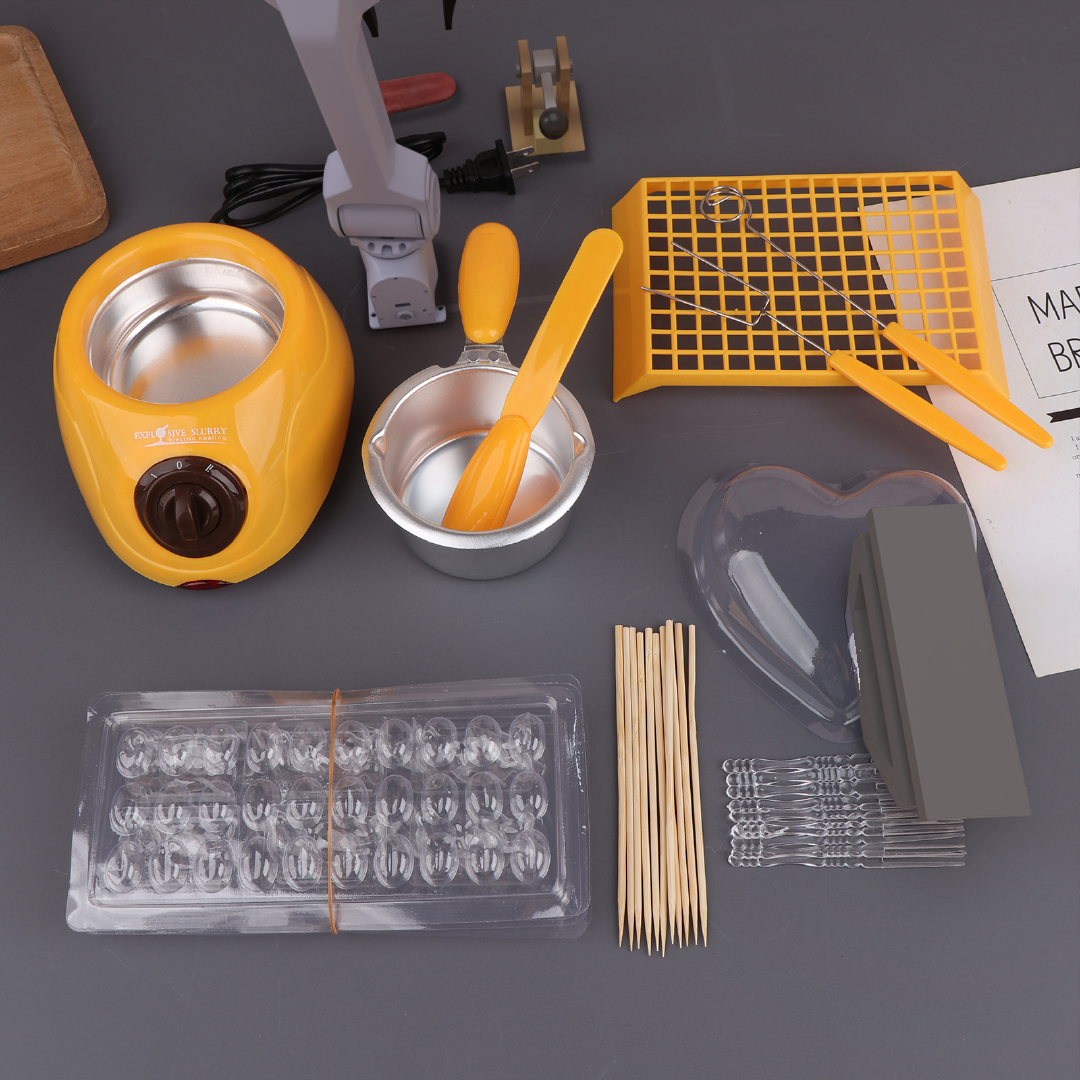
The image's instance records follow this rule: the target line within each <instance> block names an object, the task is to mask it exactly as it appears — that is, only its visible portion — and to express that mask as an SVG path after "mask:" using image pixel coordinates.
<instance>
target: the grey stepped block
mask: <svg viewBox="0 0 1080 1080" xmlns="http://www.w3.org/2000/svg"><path fill="white" fill-rule="evenodd" d="M865 517H866V518H865V519H866V523H867V524H866V525H867V529H868V532H861V533H859V535H858V536H857V537H855V538H854V540H853V541H852V549H851V556H850V563H849V571H848V572H849V573H848V580H847V591H846V593H847V592H848V597H849V605H850V612H851V618H852V627H853V633H854V640H855V646H856V654H857V663H858V668H859V678H860V690H859V683H858V677H857V675H855V677H856V679H855V678H854V677H853V681H854V682H853V683H854V688H855V695H856V700H857V707H858V713H859V719H860V725H861V732H862V739H863V744H864V746H865V748H866V749H867V752H868V753H869V755H870V757H871V759H872V761H873V763H874V766H875V767H876V769H877V771H878V773H879V775H880V777H881V778H882V780H883V782H884V784H885V786H886V788H887V790H888V792H889V794H890V796H891V797H892V800H893V801H894V803H895V805H896V807H897V808H911V807H915V808H916V811H917V816H918V817H917V818H918V822H926V821H945V820H966V819H968V820H969V819H985V818H986V819H987V818H1006V817H1007V818H1008V817H1027V816H1028V817H1029V816H1030V817H1031V816H1033V814H1032V809H1031V805H1030V800H1029V796H1028V795H1029V794H1028V790H1027V785H1026V781H1025V777H1024V771H1023V768H1022V767H1023V766H1022V762H1021V758H1020V752H1019V748H1018V744H1017V740H1016V734H1015V730H1014V725H1013V720H1012V715H1011V710H1010V705H1009V702H1008V701H1009V700H1008V696H1007V692H1006V686H1005V682H1004V678H1003V672H1002V668H1001V664H1000V659H999V653H998V650H997V645H996V640H995V635H994V630H993V626H992V622H991V621H992V620H991V617H990V612H989V608H988V602H987V598H986V593H985V589H984V584H983V579H982V574H981V569H980V565H979V561H978V555H977V550H976V546H975V541H974V537H973V531H972V528H971V527H972V526H971V523H970V518H969V513H968V508H967V503H966V502H962V503H959V502H958V503H941V504H939V503H938V504H921V505H920V504H919V505H917V504H916V505H897V506H896V505H895V506H878V507H877V506H876V507H871V508H870V509H869V510H868V511H867V512H866V513H865ZM860 650H861V651H860ZM854 674H855V672H854ZM860 691H861V696H860ZM861 700H862V702H861Z"/></svg>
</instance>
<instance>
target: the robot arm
mask: <svg viewBox="0 0 1080 1080" xmlns="http://www.w3.org/2000/svg"><path fill="white" fill-rule="evenodd" d="M263 1H264V2H266V4H268V5H270V6H272V8H274V9H276V10H277V11H278V12H279V13H280V15H281V17H282V20H283V22H284V25H285V27H286V31H287V32H288V34H289V37H290V40H291V42H292V45H293V47H294V49H295V52H296V54H297V57H298V59H299V61H300V64H301V66H302V69H303V72H304V74H305V76H306V78H307V81H308V83H309V86H310V88H311V90H312V93H313V96H314V99H315V100H316V103H317V105H318V107H319V110H320V113H321V115H322V117H323V119H324V122H325V125H326V127H327V129H328V131H329V135H330V137H331V139H332V142H333V144H334V146H335V150H334V151H332V152H331V153H329V154H328V155H327V158H326V162H325V165H324V170H323V180H322V196H323V199H324V203H325V205H326V213H327V217H328V222H329V225H330V228H331V229H332V230H333V231H334V232H335V234H336V235H337V236H338V237H339V238H346V237H348V240H349V242H350V245H351V246H354V247H358V250H359V252H360V255H361V256H360V257H361V258H362V259H361V260H362V262H363V266H364V268H365V271H366V282H367V303H368V321H369V322H368V323H369V327H370V328H371V329H372V330H382V329H391V328H402V327H411V326H412V327H413V326H420V325H431V324H441V323H444V322H446V320H447V310H446V304H438V305H436V300H435V299H436V297H435V292H436V287H437V285H438V284H437V283H438V280H439V270H438V265H437V259H436V256H435V250H434V245H433V239H434V238H435V236H436V235H437V234H438V233H439V230H440V224H441V188H440V182H439V181H440V180H439V176H438V175H437V173H436V172H435V171H434V170H433V169H432V166H431V164H430V163H429V159H428V158H427V156H425V155H423V154H421V153H419V152H417V151H414V150H412V149H411V148H408V147H406V146H403V145H401V144H399V143H397V141H396V138H395V135H394V131H393V127H392V125H391V122H390V117H389V115H388V114H387V111H386V108H385V104H384V101H383V98H382V94H381V91H380V88H379V84H378V82H379V81H378V77H377V75H376V70H375V68H374V64H373V61H372V58H371V54H370V51H369V47H368V44H367V41H366V37H365V34H364V31H363V27H362V20H363V22H364V23H365V25H366V26H367V28H368V30H369V33H370V35H371V37H372V38H379V36H380V34H379V23H378V17H377V11H376V8H375V6H376V5H377V3H379V2H380V1H381V0H263ZM457 1H458V0H442V12H443V21H444V30H445V31H452V30H453V18H454V12H455V8H456V3H457ZM440 309H441V310H440Z"/></svg>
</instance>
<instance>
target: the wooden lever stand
mask: <svg viewBox="0 0 1080 1080" xmlns="http://www.w3.org/2000/svg"><path fill="white" fill-rule="evenodd" d="M528 41H529V40H528V39H520V40H519V39H518V40H517V52H518V55H517V56H518V62H517V63H515V64H514V67H515V68H514V71H515V79H519V85H513V86H505V88H504V89H505V96H506V106H507V113H508V120H509V121H508V122H509V131H510V139H511V146H512V152H513V151H514V150H520V149H522V148H526V147H530V146H532V147H533V148H534V152H533V153H532V154H529V155H526V156H525V157H532V156H542V155H544V154H537V155H536V150H535V142H534V135H533V110H537V109H545V105H544V99H543V93H542V87H540V88H536V87H535V83H534V84H533V69H532V64H531V57H530V48H529V42H528ZM569 56H570V55H569V50H568V44H567V36H566V35H560V36H555V64H556V86H553V88H554V94H555V100H556V105H557V108H558V107H559V108H560V109H562V110H563V111H564V112H565V113H566V115H567V117H568V123H569V124H568V129H567V132H566V133H565V135H564V136H563V152H558V153H557V154H563V153H572V152H573V153H575V152H581V151H582V152H584V151H586V146H585V139H584V133H583V127H582V126H583V125H582V121H581V113H580V106H579V99H578V95H577V88H576V81H575V80H571V74H573V73H574V61H573V58H572V57H569ZM552 154H555V153H548V154H547V155H552Z"/></svg>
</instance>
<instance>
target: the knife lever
mask: <svg viewBox="0 0 1080 1080" xmlns="http://www.w3.org/2000/svg"><path fill="white" fill-rule="evenodd" d="M531 61H532V76H533V82H534V84H535V87H536V88H540V87H542V93H543V99H544V105H545V111H543V113H542V114H541V116H540V118H539V129H540V131H541V133H542V135H543V136H544V137H546V138H547V139H550V140H557V139H560V138H561V137H563V136H564V135H565V133H566V132H567V129H568V124H569V123H568V117H567V115H566V113H565V112H564V111H563V110H562V109H560V108H557V105H556V100H555V94H554V88H553V86H556V57H555V53H554V48H544V49H534V50H531Z"/></svg>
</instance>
